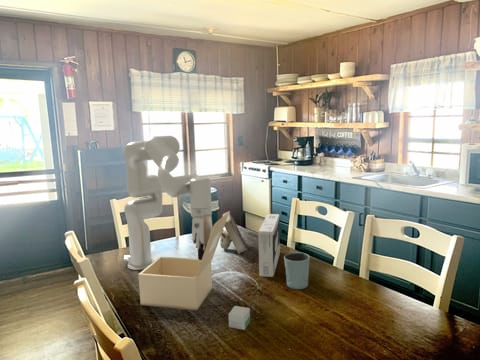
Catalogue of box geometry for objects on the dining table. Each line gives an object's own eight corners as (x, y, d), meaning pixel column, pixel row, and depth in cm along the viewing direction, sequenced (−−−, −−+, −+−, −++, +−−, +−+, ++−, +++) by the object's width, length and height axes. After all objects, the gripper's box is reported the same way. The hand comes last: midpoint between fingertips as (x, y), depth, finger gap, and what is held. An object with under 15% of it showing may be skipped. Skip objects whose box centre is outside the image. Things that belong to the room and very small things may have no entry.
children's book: (225, 250, 203) (208, 219, 200) (245, 240, 203) (229, 209, 200) (227, 263, 183) (209, 228, 180) (249, 251, 184) (231, 217, 180)
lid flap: (214, 224, 124) (215, 224, 124) (228, 211, 141) (229, 212, 141) (195, 277, 129) (196, 278, 129) (211, 259, 146) (212, 259, 146)
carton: (140, 305, 136) (138, 274, 134) (161, 284, 153) (160, 256, 151) (197, 310, 131) (195, 278, 129) (212, 288, 148) (211, 259, 146)
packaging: (273, 277, 157) (272, 231, 154) (259, 276, 158) (258, 231, 155) (280, 252, 186) (279, 214, 183) (268, 252, 188) (267, 213, 185)
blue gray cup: (314, 283, 149) (314, 255, 147) (300, 292, 142) (300, 263, 140) (293, 277, 156) (293, 250, 154) (279, 285, 149) (278, 257, 147)
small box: (244, 330, 117) (244, 316, 117) (228, 327, 119) (227, 313, 119) (250, 321, 123) (250, 307, 122) (234, 318, 125) (234, 305, 124)
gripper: (204, 217, 126) (205, 267, 129) (217, 206, 140) (218, 252, 143) (183, 216, 128) (185, 266, 131) (198, 206, 142) (200, 251, 145)
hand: (202, 259), depth 137 cm, fingers closed
